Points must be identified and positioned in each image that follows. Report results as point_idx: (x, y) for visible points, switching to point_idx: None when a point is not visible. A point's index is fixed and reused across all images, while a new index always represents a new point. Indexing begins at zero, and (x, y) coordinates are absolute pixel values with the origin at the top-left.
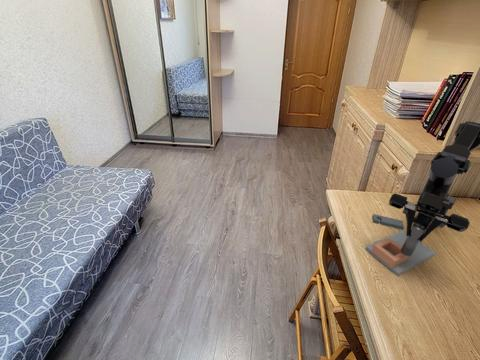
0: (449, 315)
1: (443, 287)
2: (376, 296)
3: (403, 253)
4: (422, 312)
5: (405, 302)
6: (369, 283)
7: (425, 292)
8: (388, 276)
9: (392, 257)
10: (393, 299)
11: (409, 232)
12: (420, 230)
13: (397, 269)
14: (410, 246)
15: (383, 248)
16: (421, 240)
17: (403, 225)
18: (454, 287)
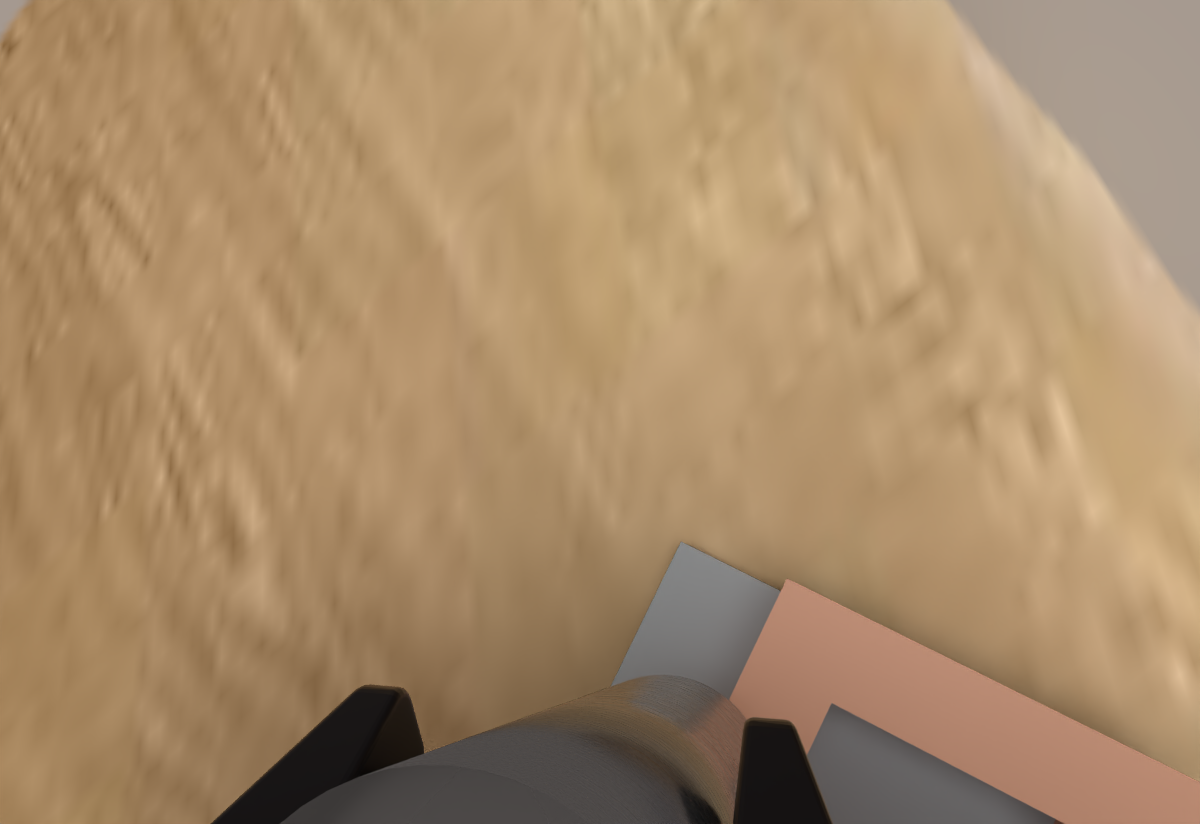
0: (139, 323)
1: (175, 727)
2: (842, 26)
3: (705, 689)
4: (374, 169)
5: (542, 176)
6: (974, 158)
7: (358, 489)
8: (791, 453)
9: (845, 650)
10: (664, 123)
11: (740, 802)
12: (370, 783)
13: (712, 608)
14: (614, 692)
15: (1048, 805)
16: (363, 698)
17: None
18: (63, 818)
